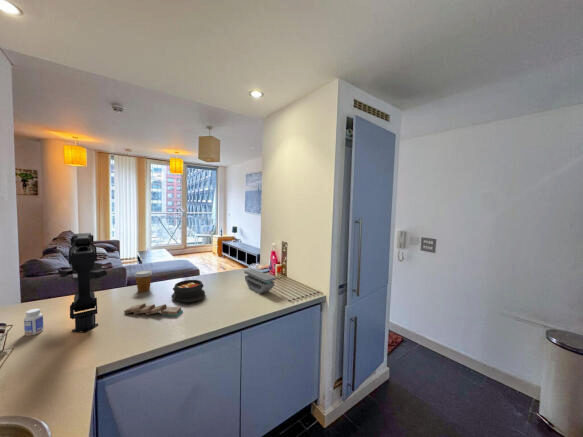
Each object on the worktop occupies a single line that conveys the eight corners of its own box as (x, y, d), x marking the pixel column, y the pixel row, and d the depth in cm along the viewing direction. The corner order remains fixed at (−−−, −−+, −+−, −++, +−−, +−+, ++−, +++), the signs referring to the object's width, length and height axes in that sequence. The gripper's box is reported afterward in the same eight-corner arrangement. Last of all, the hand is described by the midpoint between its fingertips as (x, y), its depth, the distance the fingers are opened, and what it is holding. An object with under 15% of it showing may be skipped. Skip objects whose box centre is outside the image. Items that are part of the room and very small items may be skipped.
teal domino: (162, 316, 116) (177, 317, 116) (162, 313, 116) (177, 314, 116) (167, 312, 121) (182, 312, 121) (167, 309, 121) (182, 309, 121)
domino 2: (134, 314, 116) (148, 311, 115) (133, 311, 116) (147, 308, 115) (141, 310, 121) (155, 307, 120) (140, 307, 121) (154, 304, 120)
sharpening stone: (244, 286, 160) (244, 270, 159) (253, 283, 165) (253, 268, 165) (265, 297, 142) (265, 280, 141) (275, 294, 147) (275, 277, 146)
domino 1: (124, 314, 116) (139, 310, 116) (123, 311, 116) (138, 307, 116) (132, 309, 121) (146, 306, 121) (131, 306, 121) (145, 303, 121)
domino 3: (146, 315, 116) (160, 311, 114) (145, 312, 116) (158, 308, 114) (153, 310, 120) (166, 306, 119) (152, 307, 120) (165, 304, 119)
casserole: (211, 300, 135) (211, 286, 135) (176, 308, 124) (176, 293, 123) (198, 287, 155) (198, 275, 154) (167, 294, 143) (167, 280, 143)
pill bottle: (43, 327, 102) (42, 306, 102) (44, 332, 99) (43, 310, 98) (24, 332, 98) (23, 310, 98) (24, 337, 95) (23, 314, 94)
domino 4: (160, 314, 115) (176, 314, 115) (160, 311, 115) (176, 311, 115) (166, 309, 120) (181, 310, 120) (166, 306, 120) (181, 307, 120)
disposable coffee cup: (144, 293, 142) (143, 274, 141) (131, 292, 144) (130, 273, 143) (155, 288, 152) (155, 270, 151) (143, 287, 153) (143, 269, 153)
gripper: (115, 256, 119) (116, 285, 120) (81, 254, 120) (82, 284, 121) (96, 261, 108) (97, 293, 109) (58, 259, 109) (59, 292, 110)
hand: (84, 290), depth 112 cm, fingers closed
